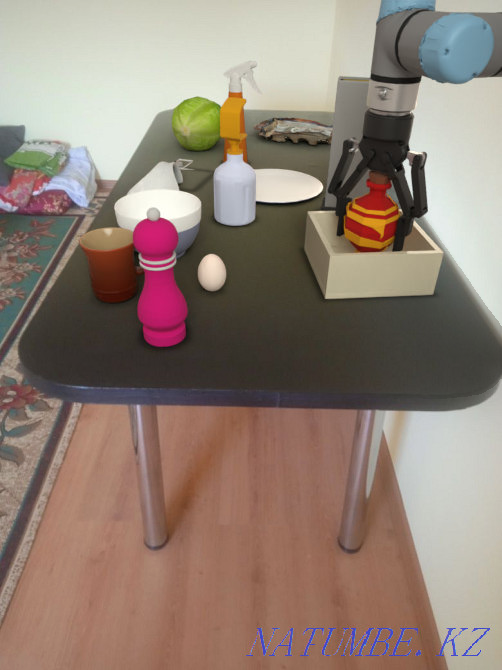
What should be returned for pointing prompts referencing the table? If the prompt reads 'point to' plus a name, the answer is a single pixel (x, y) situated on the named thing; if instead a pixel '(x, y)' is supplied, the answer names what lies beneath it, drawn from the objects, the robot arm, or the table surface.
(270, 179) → the plate
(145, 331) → the pepper mill
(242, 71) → the spray bottle
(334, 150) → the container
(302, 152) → the table surface
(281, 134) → the grey piece
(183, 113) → the lettuce
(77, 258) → the table surface
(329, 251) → the cream open box
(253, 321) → the table surface
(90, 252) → the mug
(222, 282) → the egg
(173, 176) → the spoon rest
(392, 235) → the potion bottle
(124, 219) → the bowl
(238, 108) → the white cleaner bottle
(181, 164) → the binder clip
